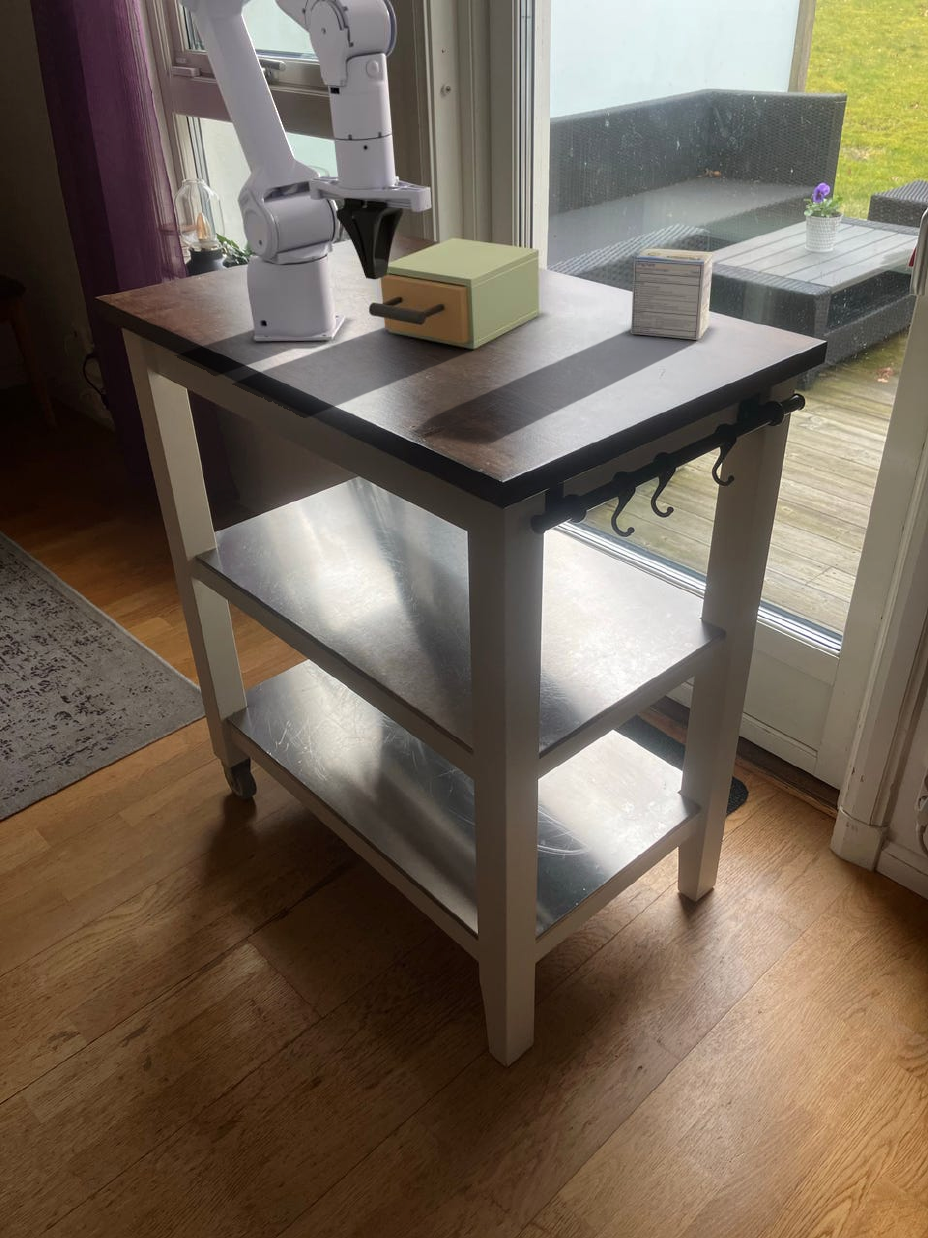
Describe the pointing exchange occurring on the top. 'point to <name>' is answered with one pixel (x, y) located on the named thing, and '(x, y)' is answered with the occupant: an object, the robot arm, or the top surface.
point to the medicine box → (671, 293)
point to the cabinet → (480, 283)
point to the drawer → (423, 308)
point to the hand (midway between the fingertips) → (376, 276)
